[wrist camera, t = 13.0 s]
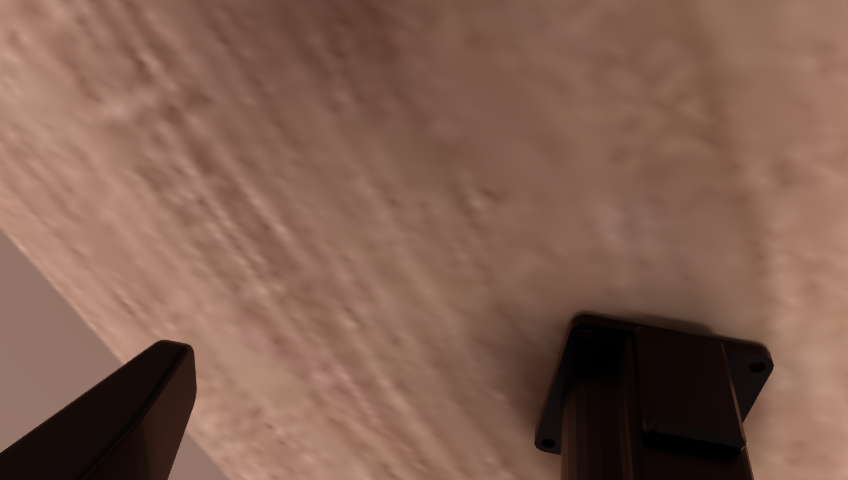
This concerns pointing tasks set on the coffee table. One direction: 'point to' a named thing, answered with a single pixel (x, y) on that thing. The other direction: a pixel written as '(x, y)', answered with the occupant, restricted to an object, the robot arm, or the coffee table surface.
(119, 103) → the coffee table surface
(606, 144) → the coffee table surface
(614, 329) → the robot arm
